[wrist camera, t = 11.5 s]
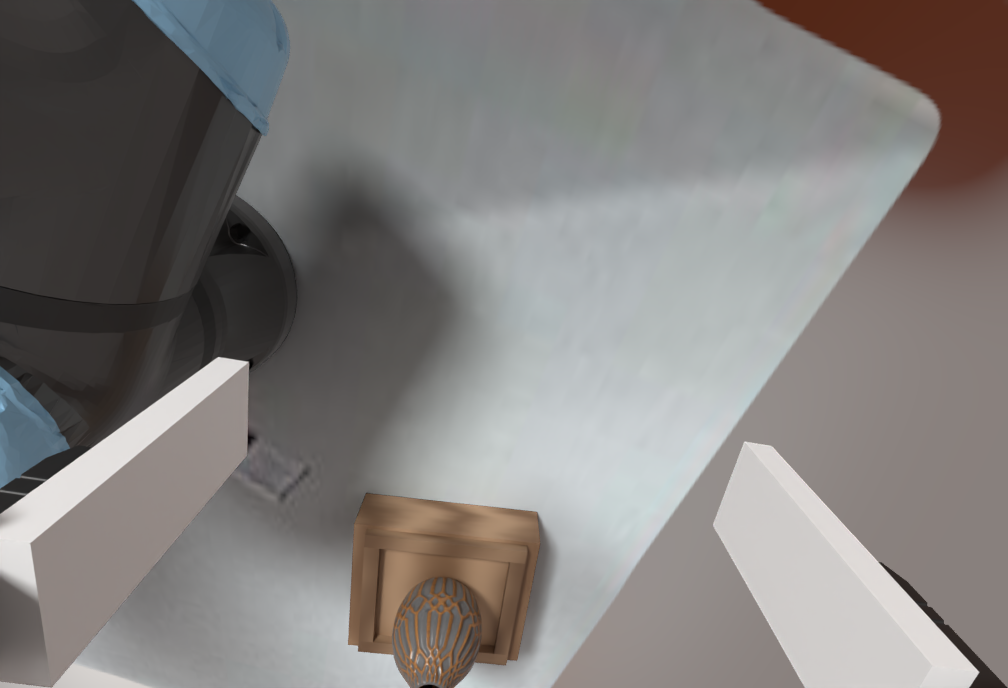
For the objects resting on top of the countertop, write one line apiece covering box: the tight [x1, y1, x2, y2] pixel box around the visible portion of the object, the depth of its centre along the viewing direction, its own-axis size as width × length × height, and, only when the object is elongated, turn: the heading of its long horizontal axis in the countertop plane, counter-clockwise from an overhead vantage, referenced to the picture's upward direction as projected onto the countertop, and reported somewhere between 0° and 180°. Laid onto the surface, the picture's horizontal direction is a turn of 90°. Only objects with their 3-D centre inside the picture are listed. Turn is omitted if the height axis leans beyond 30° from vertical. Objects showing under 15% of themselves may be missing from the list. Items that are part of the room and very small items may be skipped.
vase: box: [392, 577, 482, 688], centre depth 41 cm, size 7×7×9 cm
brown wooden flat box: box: [348, 493, 540, 665], centre depth 46 cm, size 15×13×5 cm
